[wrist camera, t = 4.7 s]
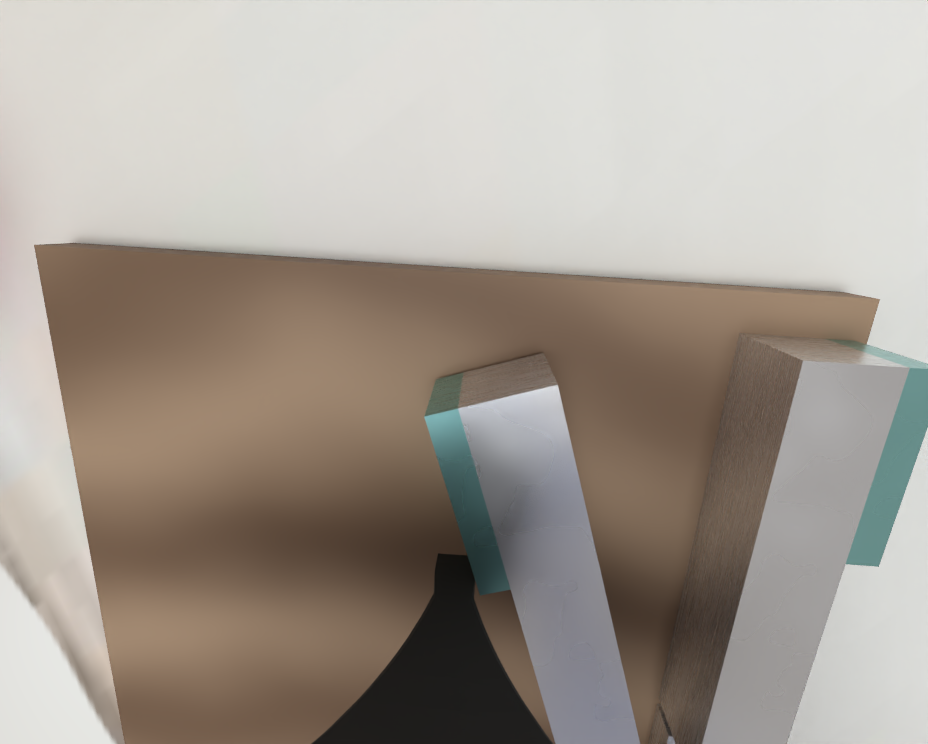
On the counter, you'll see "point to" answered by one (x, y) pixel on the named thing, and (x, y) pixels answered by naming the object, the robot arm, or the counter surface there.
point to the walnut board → (364, 462)
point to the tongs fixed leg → (785, 527)
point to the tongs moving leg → (533, 537)
